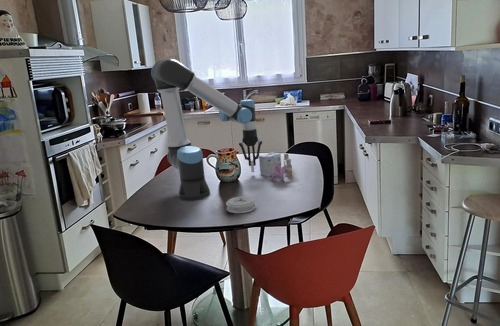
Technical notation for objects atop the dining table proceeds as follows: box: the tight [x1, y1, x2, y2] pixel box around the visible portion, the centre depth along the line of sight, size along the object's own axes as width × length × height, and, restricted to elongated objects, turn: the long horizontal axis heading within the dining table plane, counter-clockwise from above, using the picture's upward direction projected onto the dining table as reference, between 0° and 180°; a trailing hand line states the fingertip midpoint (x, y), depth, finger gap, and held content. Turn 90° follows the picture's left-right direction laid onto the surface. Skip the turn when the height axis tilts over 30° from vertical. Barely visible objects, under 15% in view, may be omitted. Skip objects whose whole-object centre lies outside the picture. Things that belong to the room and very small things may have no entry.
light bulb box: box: [258, 151, 282, 177], centre depth 233 cm, size 11×7×11 cm, turn 131°
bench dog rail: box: [283, 152, 293, 178], centre depth 232 cm, size 16×3×9 cm, turn 0°
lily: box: [269, 164, 291, 183], centre depth 217 cm, size 12×12×10 cm
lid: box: [225, 195, 257, 214], centre depth 182 cm, size 13×13×5 cm
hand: (252, 171), depth 233 cm, fingers closed
